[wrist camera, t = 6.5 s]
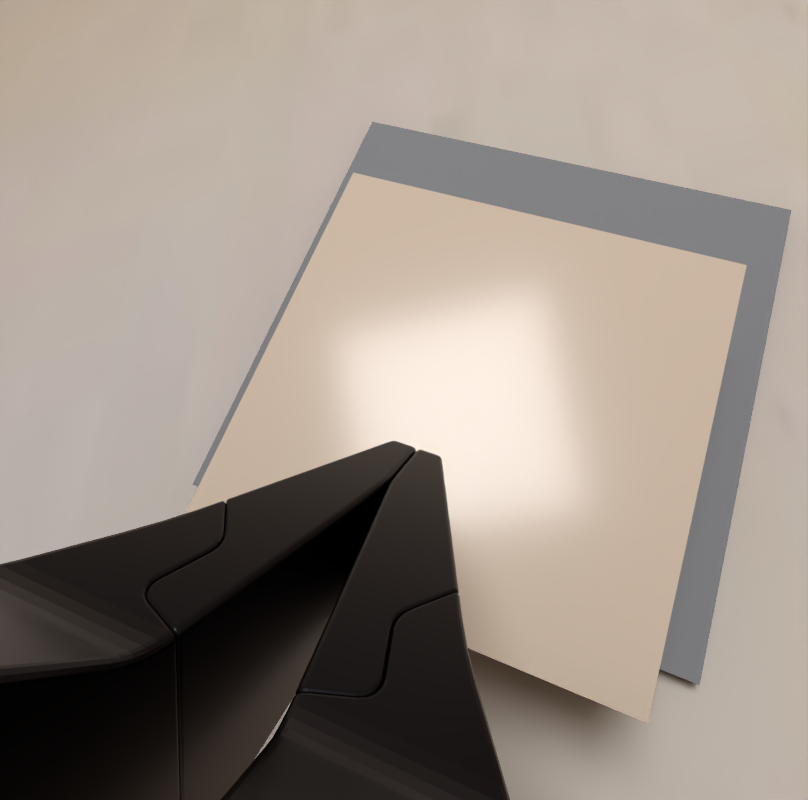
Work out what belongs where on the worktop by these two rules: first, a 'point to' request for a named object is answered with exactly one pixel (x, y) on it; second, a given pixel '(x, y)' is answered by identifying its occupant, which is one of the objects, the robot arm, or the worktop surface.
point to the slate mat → (635, 218)
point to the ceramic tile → (509, 412)
